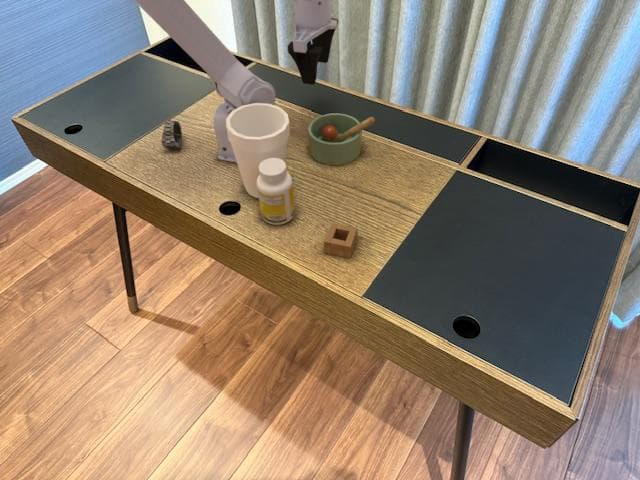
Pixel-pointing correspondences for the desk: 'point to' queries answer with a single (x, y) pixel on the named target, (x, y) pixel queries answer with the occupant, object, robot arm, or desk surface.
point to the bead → (329, 133)
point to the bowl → (334, 151)
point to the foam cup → (257, 138)
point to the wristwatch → (172, 135)
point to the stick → (354, 130)
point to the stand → (340, 240)
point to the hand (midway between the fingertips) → (315, 72)
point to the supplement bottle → (275, 192)
